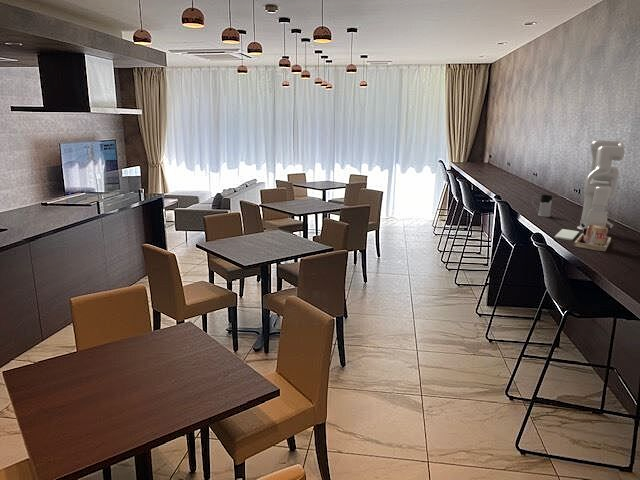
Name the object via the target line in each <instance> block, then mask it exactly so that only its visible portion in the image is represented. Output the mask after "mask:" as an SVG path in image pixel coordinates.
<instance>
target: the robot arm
mask: <svg viewBox="0 0 640 480" xmlns="http://www.w3.org/2000/svg"><path fill="white" fill-rule="evenodd" d="M590 152H591V157H592V161H591V167H590V172H589V174H588V175H587V176H586V178H585V180H584V187H583V188H584V189H583V195H584V200H583V207H582V212H581V217H580V221H579V224H580V225H578V226H576V230H577V229H578V230H579V231H582V233H583V234H584V236H585V235H586V231H587V227H588V226H590V227H591V226H592V224H594V225H601V226H605V227H607V225H608V227H607V228H608V231H609V230H611V229H612V228H613V227H614V224H612V223H611V222H610V221H608V210H610V206H608V203H609V199H613V197H615V194H616V190H617V185H618V180H619V169H618V168H617V167H615V166H612V161H618V162H619V161H620V162H621V161H622V160H623V159H624V157H625V146H624V143H623V142H622V141H618V140H607V139H606V140H605V139H603V140H601V139H600V140H592V142H591V145H590ZM592 180H593V181H592ZM595 181H596V182H595ZM597 181H598V182H597ZM583 228H584V231H583Z"/></svg>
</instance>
